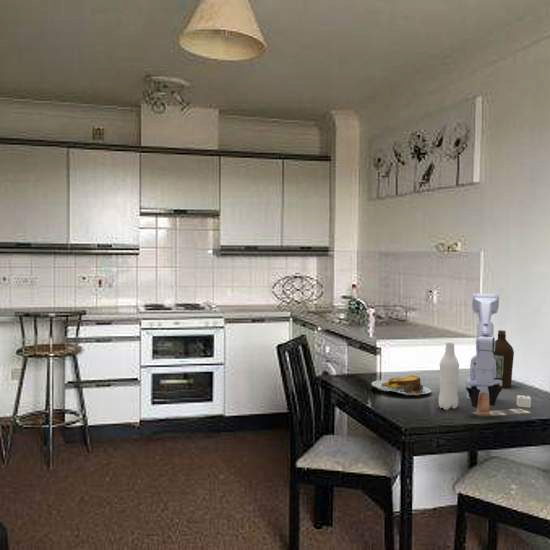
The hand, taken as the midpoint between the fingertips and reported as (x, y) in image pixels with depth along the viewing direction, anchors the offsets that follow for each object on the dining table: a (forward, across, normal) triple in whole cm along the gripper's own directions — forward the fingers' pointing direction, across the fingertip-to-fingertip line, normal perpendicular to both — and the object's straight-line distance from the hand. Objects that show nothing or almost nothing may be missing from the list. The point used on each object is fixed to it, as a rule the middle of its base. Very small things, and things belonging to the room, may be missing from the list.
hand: (483, 406), depth 221 cm
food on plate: (+4, -8, +43) cm, 44 cm away
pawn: (+3, 0, 0) cm, 3 cm away
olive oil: (+4, +42, +41) cm, 59 cm away
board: (+4, +8, 0) cm, 9 cm away
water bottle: (+4, -6, +13) cm, 15 cm away
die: (+4, +24, +6) cm, 25 cm away
